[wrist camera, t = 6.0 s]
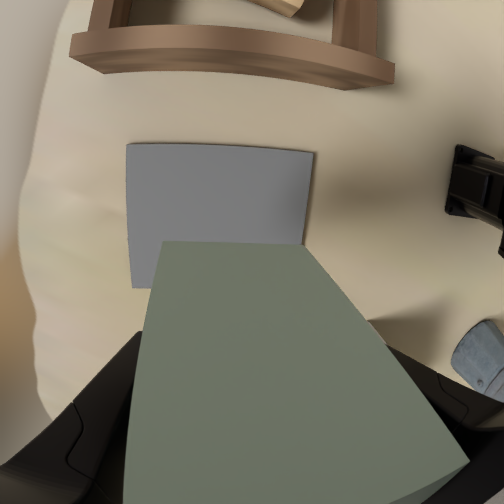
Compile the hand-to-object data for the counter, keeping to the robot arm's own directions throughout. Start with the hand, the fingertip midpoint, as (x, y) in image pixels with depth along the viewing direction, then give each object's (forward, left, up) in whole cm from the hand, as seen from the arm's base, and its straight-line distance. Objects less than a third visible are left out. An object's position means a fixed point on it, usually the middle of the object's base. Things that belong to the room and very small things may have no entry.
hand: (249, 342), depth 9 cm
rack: (0, -15, -13) cm, 20 cm away
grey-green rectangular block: (0, 0, -4) cm, 4 cm away
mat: (0, 0, -13) cm, 13 cm away
